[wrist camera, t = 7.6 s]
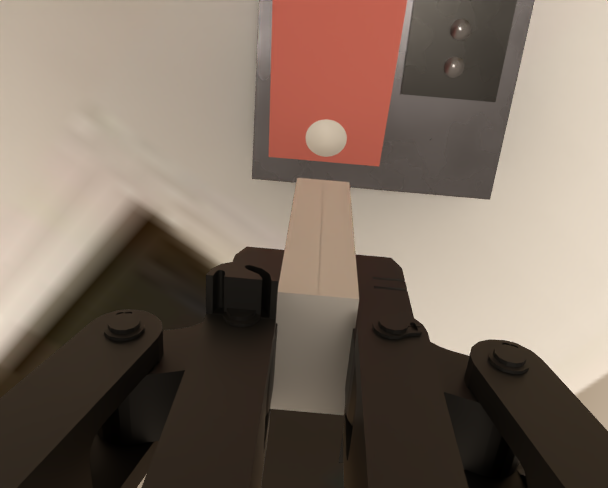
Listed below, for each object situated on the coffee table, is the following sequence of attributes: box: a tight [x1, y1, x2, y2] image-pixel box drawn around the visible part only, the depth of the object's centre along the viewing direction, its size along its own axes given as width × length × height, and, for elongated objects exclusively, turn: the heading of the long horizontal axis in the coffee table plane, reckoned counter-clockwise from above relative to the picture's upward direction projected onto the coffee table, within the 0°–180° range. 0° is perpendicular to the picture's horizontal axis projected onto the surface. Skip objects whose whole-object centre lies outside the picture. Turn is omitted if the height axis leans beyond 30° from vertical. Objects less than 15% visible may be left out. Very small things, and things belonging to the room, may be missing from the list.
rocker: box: [269, 0, 407, 166], centre depth 23 cm, size 10×5×2 cm, turn 175°
